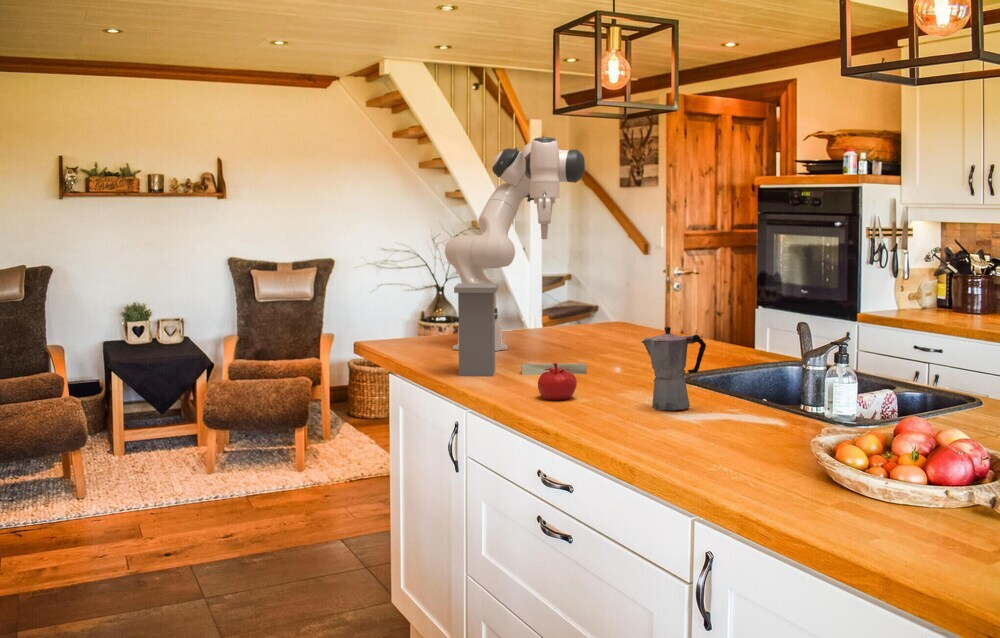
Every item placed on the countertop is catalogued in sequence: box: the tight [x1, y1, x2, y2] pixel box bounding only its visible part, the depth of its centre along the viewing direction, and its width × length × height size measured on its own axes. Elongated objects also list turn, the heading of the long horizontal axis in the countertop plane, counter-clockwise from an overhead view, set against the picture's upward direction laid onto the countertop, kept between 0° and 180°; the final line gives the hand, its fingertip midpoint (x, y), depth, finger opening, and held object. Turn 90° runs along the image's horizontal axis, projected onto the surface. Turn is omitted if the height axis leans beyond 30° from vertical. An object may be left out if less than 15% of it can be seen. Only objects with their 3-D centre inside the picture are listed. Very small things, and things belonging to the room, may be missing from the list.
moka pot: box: [640, 326, 707, 412], centre depth 229 cm, size 10×15×20 cm, turn 85°
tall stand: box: [453, 282, 499, 377], centre depth 276 cm, size 14×12×26 cm
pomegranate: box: [537, 362, 578, 401], centre depth 241 cm, size 10×10×9 cm
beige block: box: [520, 362, 588, 376], centre depth 277 cm, size 4×19×3 cm, turn 92°
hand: (544, 238), depth 282 cm, fingers open, 8 cm apart
